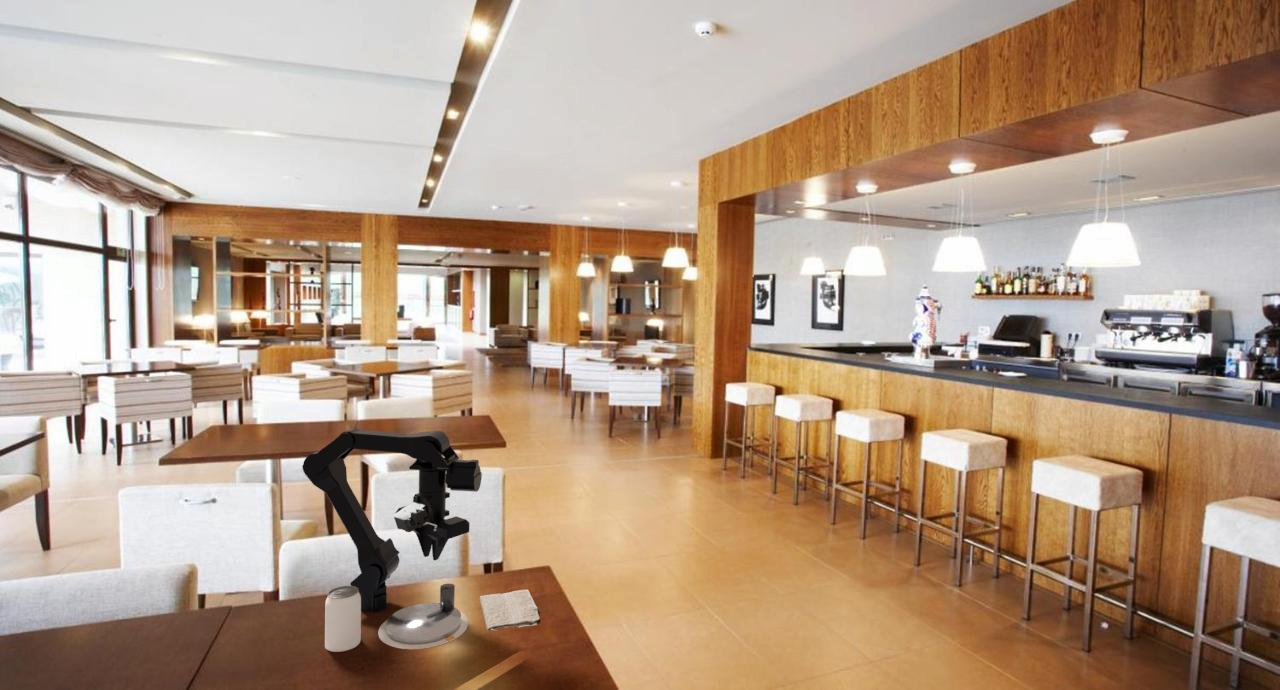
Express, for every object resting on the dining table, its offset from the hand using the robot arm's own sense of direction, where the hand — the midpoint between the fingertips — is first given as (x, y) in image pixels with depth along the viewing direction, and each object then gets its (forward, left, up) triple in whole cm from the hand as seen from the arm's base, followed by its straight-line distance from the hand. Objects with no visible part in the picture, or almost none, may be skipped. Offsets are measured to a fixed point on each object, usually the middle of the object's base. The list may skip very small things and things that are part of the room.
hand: (431, 558), depth 145 cm
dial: (+6, -6, -12) cm, 14 cm away
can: (-1, -20, -13) cm, 24 cm away
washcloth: (+14, +10, -14) cm, 22 cm away
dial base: (+6, -6, -13) cm, 15 cm away
